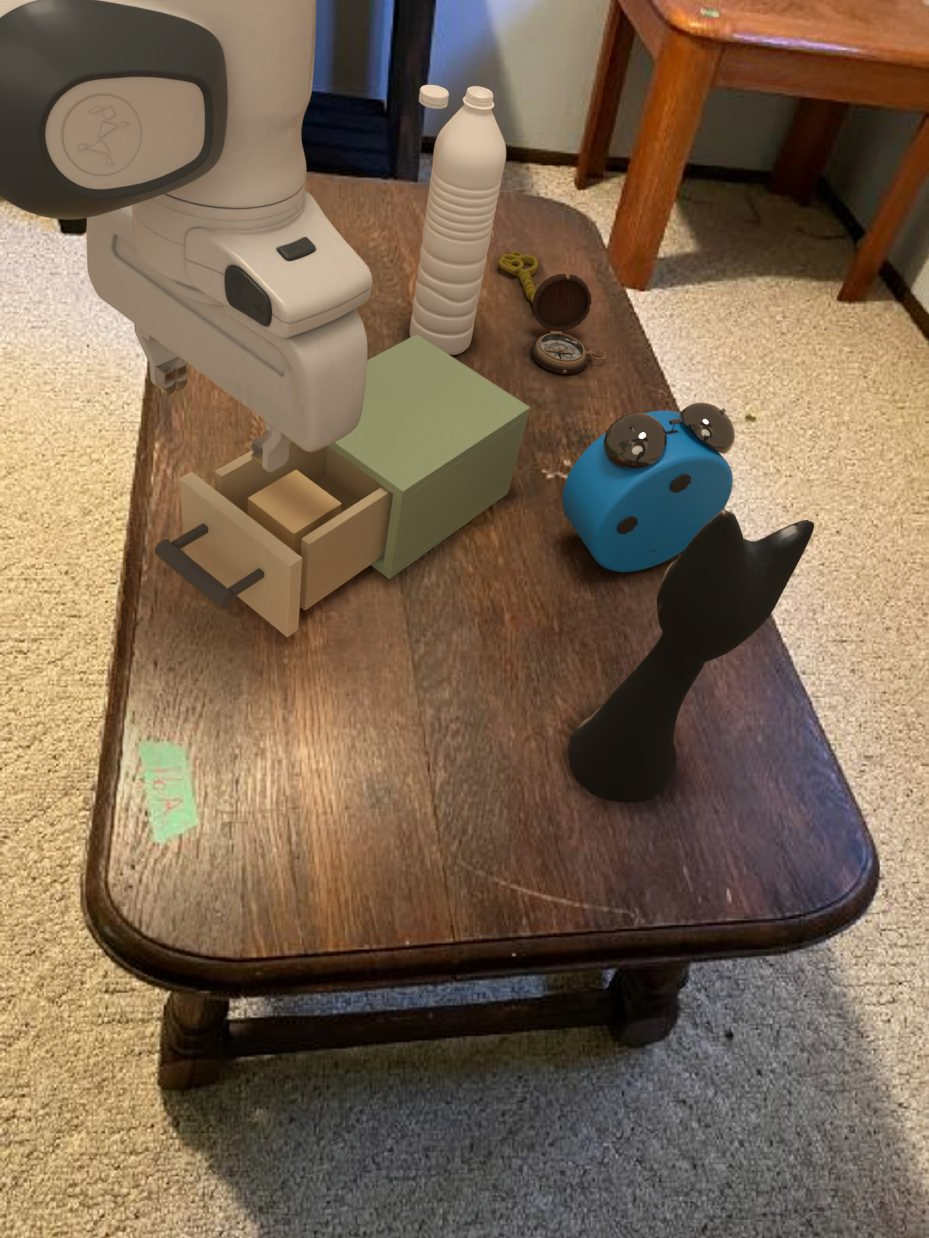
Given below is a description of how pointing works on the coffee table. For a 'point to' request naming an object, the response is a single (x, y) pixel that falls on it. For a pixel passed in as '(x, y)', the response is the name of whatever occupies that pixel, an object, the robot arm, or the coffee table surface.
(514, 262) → the key
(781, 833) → the coffee table surface
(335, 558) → the drawer
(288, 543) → the block
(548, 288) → the compass
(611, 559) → the alarm clock
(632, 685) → the figurine
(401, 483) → the cabinet
